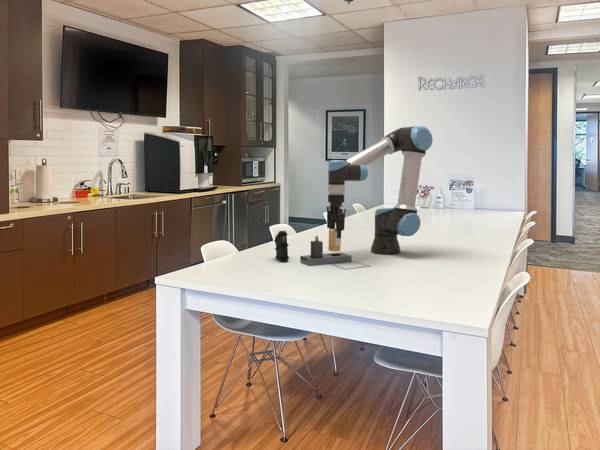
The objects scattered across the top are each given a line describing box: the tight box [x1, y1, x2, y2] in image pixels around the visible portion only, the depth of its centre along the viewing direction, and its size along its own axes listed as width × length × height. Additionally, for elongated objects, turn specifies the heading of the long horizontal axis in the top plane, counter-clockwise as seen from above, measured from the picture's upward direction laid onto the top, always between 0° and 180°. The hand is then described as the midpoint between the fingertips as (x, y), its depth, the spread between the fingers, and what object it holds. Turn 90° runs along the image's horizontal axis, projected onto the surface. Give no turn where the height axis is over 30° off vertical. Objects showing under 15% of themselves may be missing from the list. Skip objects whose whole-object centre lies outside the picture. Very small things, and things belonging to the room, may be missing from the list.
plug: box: [328, 228, 341, 252], centre depth 239 cm, size 4×4×10 cm
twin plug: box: [310, 235, 324, 258], centre depth 236 cm, size 4×4×12 cm
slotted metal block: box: [299, 251, 353, 267], centre depth 239 cm, size 22×9×4 cm, turn 117°
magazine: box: [273, 230, 290, 263], centre depth 243 cm, size 4×13×15 cm, turn 16°
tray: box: [329, 260, 372, 271], centre depth 231 cm, size 14×12×1 cm
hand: (335, 244), depth 240 cm, fingers closed on plug, 4 cm apart
